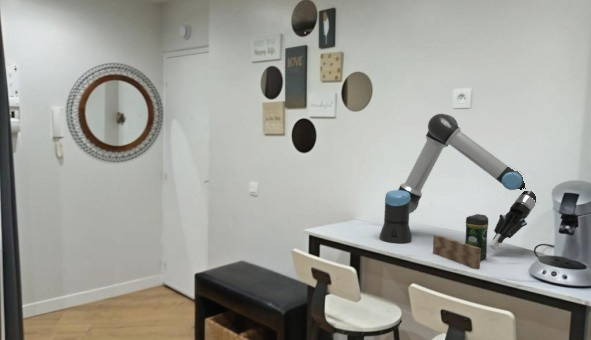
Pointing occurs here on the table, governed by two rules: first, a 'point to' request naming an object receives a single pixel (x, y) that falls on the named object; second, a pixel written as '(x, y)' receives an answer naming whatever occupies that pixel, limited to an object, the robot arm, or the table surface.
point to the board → (457, 251)
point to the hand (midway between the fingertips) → (492, 247)
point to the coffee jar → (477, 233)
